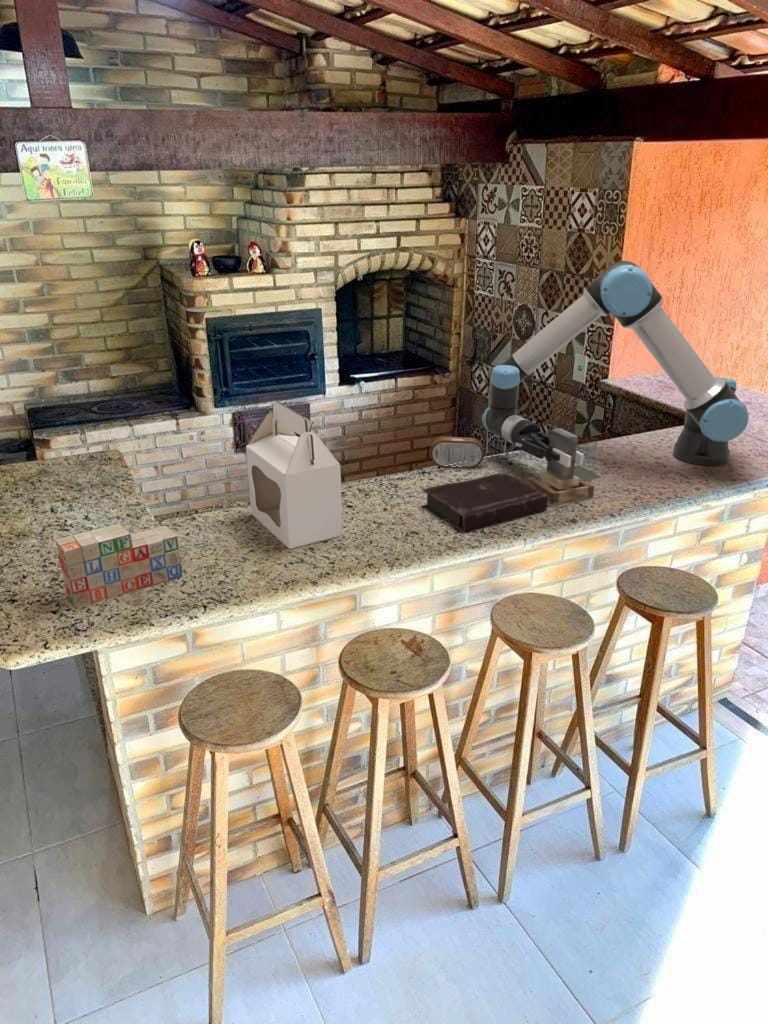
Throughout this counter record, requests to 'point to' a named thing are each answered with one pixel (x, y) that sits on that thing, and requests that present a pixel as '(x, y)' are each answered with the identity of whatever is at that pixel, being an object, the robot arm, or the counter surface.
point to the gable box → (293, 480)
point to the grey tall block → (556, 471)
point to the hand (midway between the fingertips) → (575, 460)
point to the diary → (484, 501)
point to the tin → (457, 451)
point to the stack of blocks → (116, 562)
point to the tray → (563, 491)
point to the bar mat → (584, 473)
